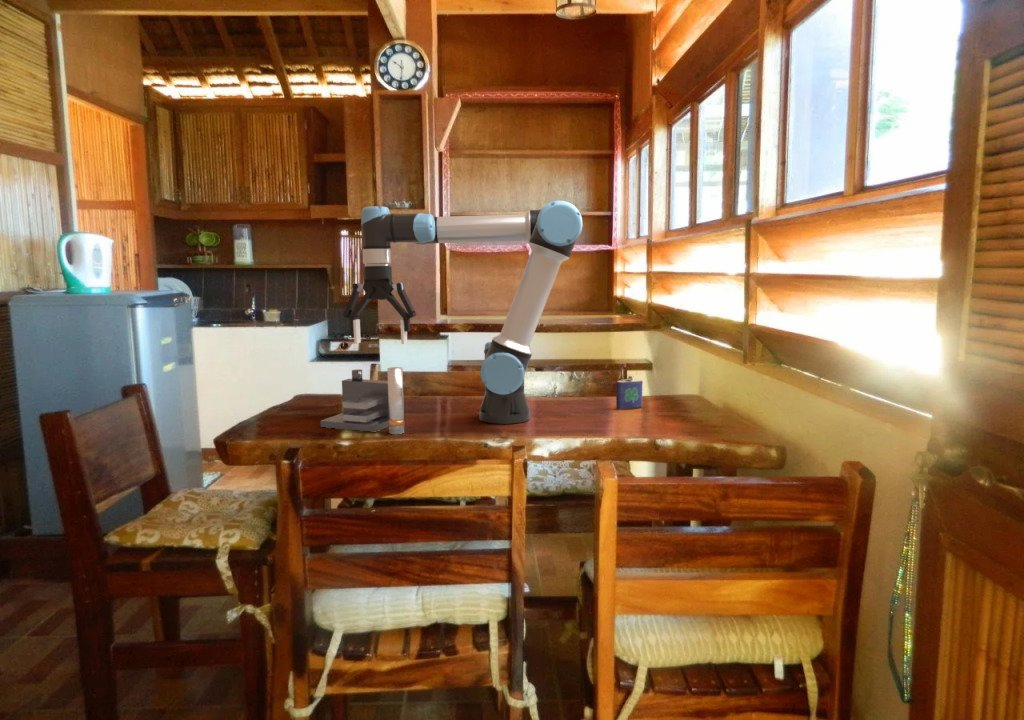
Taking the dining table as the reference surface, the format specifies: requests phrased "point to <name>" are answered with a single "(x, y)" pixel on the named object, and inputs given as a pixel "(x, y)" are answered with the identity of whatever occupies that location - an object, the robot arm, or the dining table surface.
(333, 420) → the grey slotted rack
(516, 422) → the robot arm
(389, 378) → the tube
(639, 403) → the flask
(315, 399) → the dining table surface
